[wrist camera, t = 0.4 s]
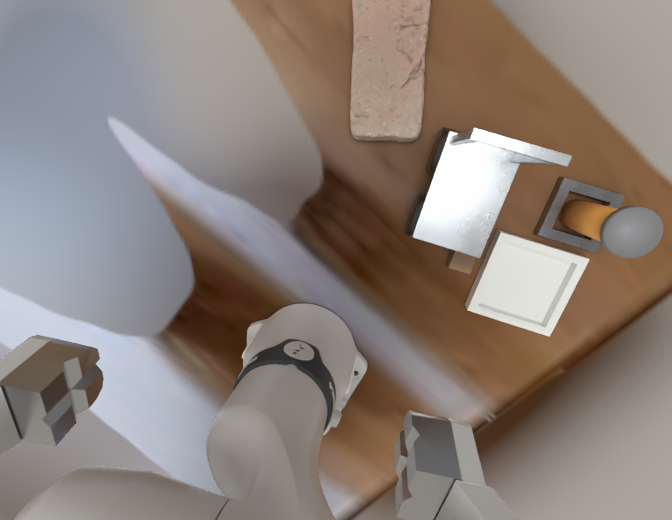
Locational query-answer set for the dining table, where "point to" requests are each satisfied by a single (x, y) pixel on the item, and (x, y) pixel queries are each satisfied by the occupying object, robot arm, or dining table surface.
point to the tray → (525, 282)
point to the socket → (557, 202)
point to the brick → (388, 69)
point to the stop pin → (614, 226)
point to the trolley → (471, 187)
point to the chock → (460, 261)
